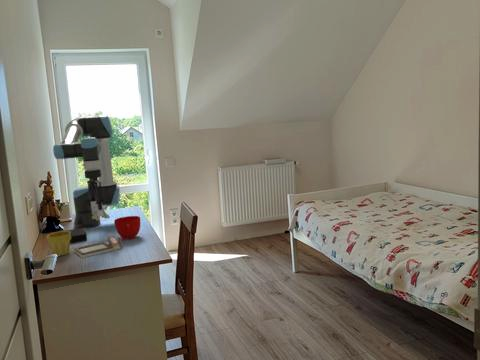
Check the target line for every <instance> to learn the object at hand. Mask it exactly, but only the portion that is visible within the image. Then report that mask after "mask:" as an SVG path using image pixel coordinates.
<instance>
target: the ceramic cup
mask: <svg viewBox="0 0 480 360" xmlns="http://www.w3.org/2000/svg"><path fill="white" fill-rule="evenodd" d="M114 226H115V231H116V232H117V234H118V236H121V238H122V239H123V240H132V239H135V238H137V235H138V234H139V232H140V229H141V217H140V216H137V215H129V216H122V217H117V218H115V219H114Z"/></svg>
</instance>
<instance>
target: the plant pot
mask: <svg viewBox="0 0 480 360" xmlns="http://www.w3.org/2000/svg"><path fill="white" fill-rule="evenodd" d="M60 231H61V232H59V231H54V232H55V233H53V232H52V233H50V234H47V236H46V239H47V243H48V244H49V245H50V248H51V250H52V251H51V252H52V253H53V255H54V254H57V255H62V256H66V255H68V254H69V253H70V245H71V243H70V240H71V232H69V231H66V230H60Z"/></svg>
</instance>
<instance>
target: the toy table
mask: <svg viewBox="0 0 480 360" xmlns="http://www.w3.org/2000/svg"><path fill="white" fill-rule="evenodd" d="M102 206H103V214H104V216H101V217H98V215H97V207H94V208H93V209H92V211H93V212H95V214H94V215H93V216H92V219H96V221H97V220H100V221H101V218H102V219H103V218H104V219H111V217H110V214H108V213H106V211H105V210H107V208H108V206H107V205H102Z"/></svg>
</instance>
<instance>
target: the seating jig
mask: <svg viewBox="0 0 480 360" xmlns="http://www.w3.org/2000/svg"><path fill="white" fill-rule="evenodd" d="M122 239H123V238H122V237H121V236H120V235H118V236H117V240H118V241H117V242H118V247H113V246H112V244H111V243H110V242H108V241H107V242H106V241H100V242H96V243H95V242H94V243H91V244H87V245H83V246H82V245H81V246H78V247H74V251H73V252H74V253H75V254H77V255H78V256H79V257H80V258H87V257H90V256H91V257H92V256H94V255H99V254H103V253H107V252H112V251H116V250H121V249H123V240H122Z"/></svg>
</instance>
